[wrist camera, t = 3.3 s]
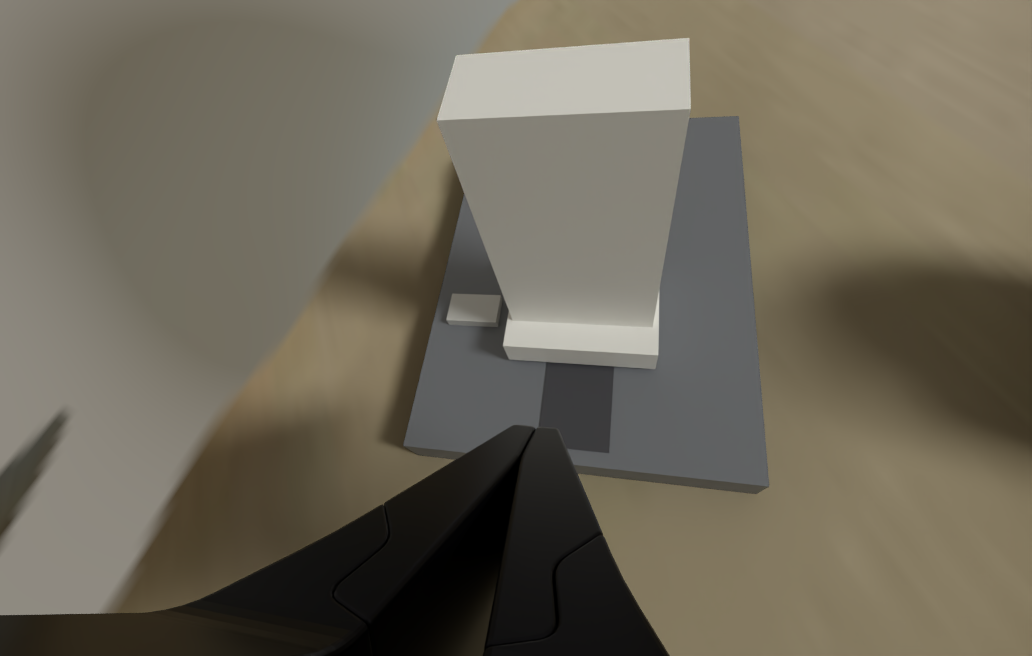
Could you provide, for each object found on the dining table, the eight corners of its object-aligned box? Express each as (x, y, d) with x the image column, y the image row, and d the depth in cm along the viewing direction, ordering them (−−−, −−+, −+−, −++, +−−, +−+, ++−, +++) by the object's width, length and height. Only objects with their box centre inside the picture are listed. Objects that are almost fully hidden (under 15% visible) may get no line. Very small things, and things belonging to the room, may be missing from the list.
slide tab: (655, 369, 17) (704, 149, 8) (509, 359, 18) (416, 157, 9) (656, 271, 18) (699, 5, 10) (523, 268, 20) (456, 27, 11)
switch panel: (755, 494, 16) (777, 482, 14) (417, 455, 19) (394, 440, 16) (731, 142, 23) (743, 100, 21) (487, 150, 25) (476, 113, 23)
